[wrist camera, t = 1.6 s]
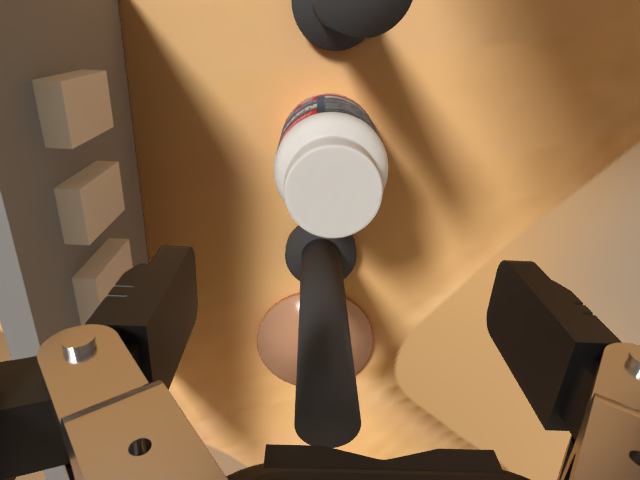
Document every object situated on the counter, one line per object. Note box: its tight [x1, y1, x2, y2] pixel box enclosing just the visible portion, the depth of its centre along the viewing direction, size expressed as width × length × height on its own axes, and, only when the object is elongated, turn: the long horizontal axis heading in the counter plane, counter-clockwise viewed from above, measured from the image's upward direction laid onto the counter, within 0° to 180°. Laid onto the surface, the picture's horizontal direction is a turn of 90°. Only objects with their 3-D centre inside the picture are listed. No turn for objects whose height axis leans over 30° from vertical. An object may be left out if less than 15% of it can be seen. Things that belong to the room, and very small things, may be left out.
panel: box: [0, 0, 149, 480], centre depth 22 cm, size 22×2×12 cm, turn 177°
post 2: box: [285, 226, 361, 448], centre depth 23 cm, size 4×4×14 cm
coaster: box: [257, 293, 373, 385], centre depth 32 cm, size 8×8×1 cm
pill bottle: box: [274, 93, 389, 238], centre depth 22 cm, size 5×5×9 cm
